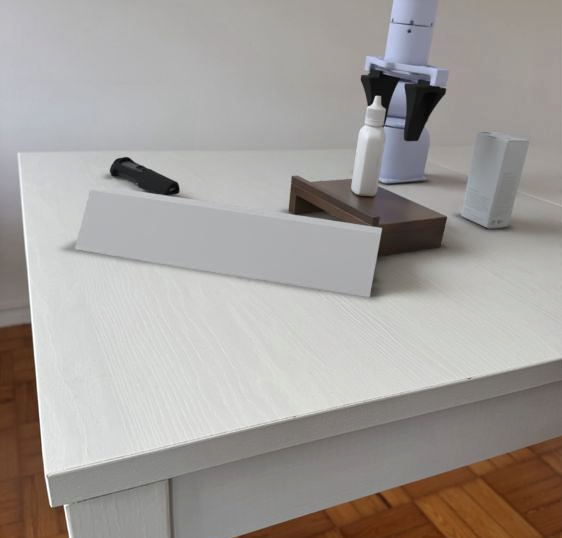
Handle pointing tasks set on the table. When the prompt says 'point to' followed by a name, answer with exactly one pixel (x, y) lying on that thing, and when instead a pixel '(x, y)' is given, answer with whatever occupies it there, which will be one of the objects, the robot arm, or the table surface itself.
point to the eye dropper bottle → (369, 151)
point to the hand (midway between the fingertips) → (393, 134)
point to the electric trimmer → (143, 177)
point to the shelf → (371, 213)
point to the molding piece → (231, 240)
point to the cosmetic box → (494, 178)
